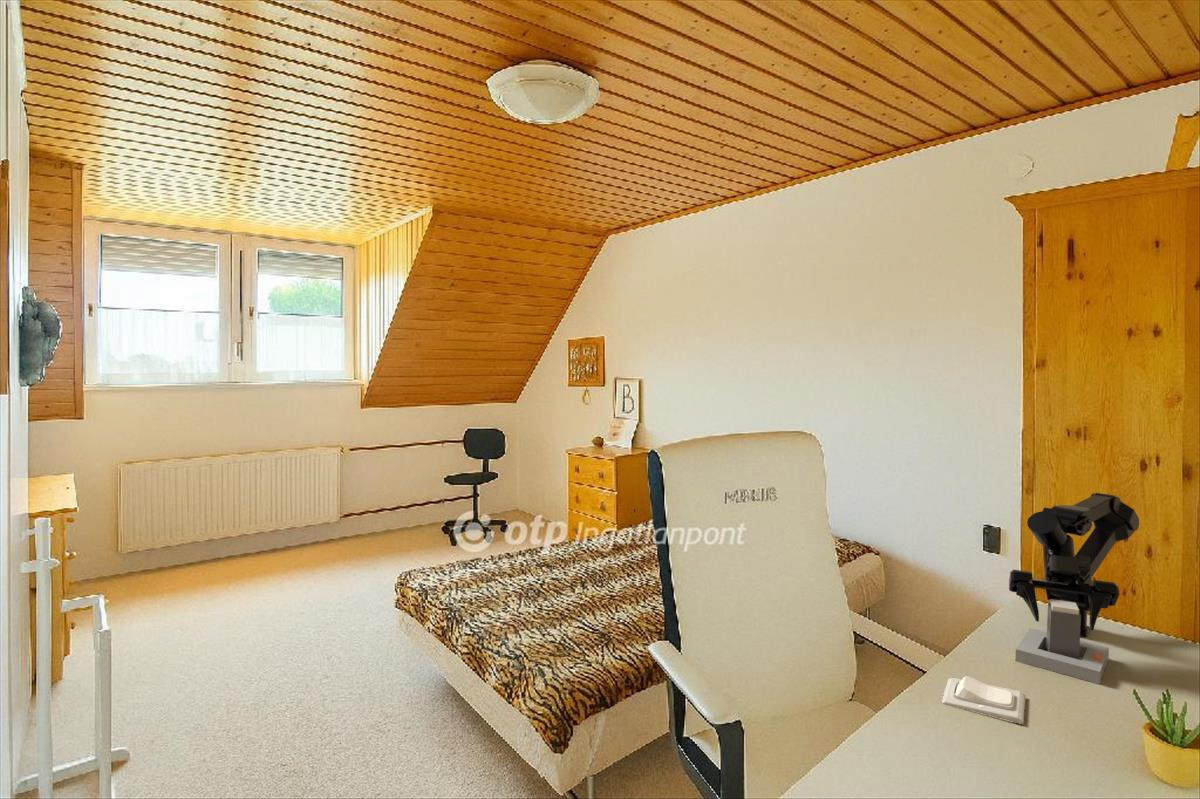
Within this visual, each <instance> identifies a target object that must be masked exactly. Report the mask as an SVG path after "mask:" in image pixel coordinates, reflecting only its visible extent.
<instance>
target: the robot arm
mask: <svg viewBox="0 0 1200 799" xmlns="http://www.w3.org/2000/svg"><path fill="white" fill-rule="evenodd" d="M1026 524H1027V527H1028V529H1029V530H1030V532H1031V533H1032V535H1033V536H1034V538H1035V539H1036V541H1037V542H1038V544H1040V545H1042V555H1043V557H1042V558H1043V569H1044V570H1043V571H1044V572H1043V573H1044V579H1042V578H1034V577H1033V572H1032V571H1028V570H1019V569H1012V570H1011V571H1010V574H1009V578H1008V590H1009V591H1010V592H1012V593H1016V594H1015V595H1016V596H1018V597H1020V598H1022V599H1023V601H1024V602H1025V603H1026V605H1027V607H1028V608H1029V610H1030V612H1031V614H1032V616H1033V617H1034V620H1035V621H1036V622H1040V612H1039V607H1038V603H1037V602H1038V601H1037V596H1036V589H1043V590H1045V593H1046V600H1048V601H1050V599H1054V600H1061V601H1068V602H1075V603H1076V605H1077V607H1078V609H1079V613H1080V615H1081V627H1080V637H1082V638H1083V637H1084V638H1087V637H1088V634H1089V632H1090V631H1094V629H1095V626H1096V622H1097V620H1098V615H1099V613H1100V612H1101V610H1102V609H1108V607H1112V606H1116V604H1117V601H1118V599H1119V597H1120V588H1119V586H1118V585H1117V584H1116V583H1115V582H1113V581H1112V582H1111V581H1106V580H1105V581H1103V580H1098V579H1097V580H1095V579H1094V580H1093V576H1094V574H1096V572H1097V570H1098V569H1099V567H1100V566H1101V565H1102V563H1103V561H1104V560H1105V559H1106V557H1107V555H1108V554H1109V553H1110V551H1111V550H1112V548H1113V547H1114V546H1115V544H1116V543H1117V542H1120V541H1123V540H1124V541H1125V540H1126V539H1127V540H1128V539H1129V538H1131V536H1132V535H1134V533H1135V532H1136V531H1138V529H1139V527H1140V518H1139V516H1138V514H1137V512H1136V511H1135V509H1134V508H1132V507H1131V506H1129V505H1128V504H1126V503H1124V502H1122V500H1121V499H1120V497H1119V496H1116V495H1114V494H1108V493H1102V492H1095V493H1094V492H1093V493H1091V495H1090V496H1089V497H1087V498H1085V499H1083V500H1081V501H1079V502H1076V503H1075V504H1072V505H1063V504H1059V505H1058V504H1057V505H1053V506H1052V507H1051V508H1050V507H1043V509H1042V510H1041V511H1037V512H1035V513H1033V514H1032V515H1030V516H1029V517H1028V518H1027V521H1026ZM1093 527H1094V528H1093ZM1092 528H1093V530H1092ZM1091 530H1092V531H1091ZM1090 531H1091V533H1090V534H1089V536H1087V538H1086V539H1085V541H1084V542H1083V544H1082V545H1081V546H1080V548H1079V550H1078V551H1076V554H1075V546H1074V539H1073V536H1078V537H1084V536H1085V535H1087V533H1089V532H1090ZM1071 535H1073V536H1071ZM1088 612H1089V625H1087V624H1088Z"/></svg>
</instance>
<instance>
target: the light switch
mask: <svg viewBox="0 0 1200 799" xmlns="http://www.w3.org/2000/svg"><path fill="white" fill-rule="evenodd" d="M943 695H944V696H943ZM943 695H942V698H943V699H942V698H941V701H942V703H944V704H943V705H945V704H946V706H949V705H951V706H950V707H953V706H955V707H954V708H956V707H959V708H958V709H960V708H964V709H968V710H972V711H975V712H979V713H983V714H986V715H991V716H994V717H997V718H1002V719H1006V720H1009V721H1013V722H1015V723H1014V724H1016V723H1019V724H1018V725H1021V724H1022V725H1021V726H1023V725H1024V723H1025V711H1024V710H1025V709H1026V708H1025V707H1026V706H1025V705H1026V694H1025V693H1024V692H1023V691H1020V690H1016V689H1011V688H1005V687H1000V686H996V685H990V684H986V683H983V682H981V681H978V680H977V679H975V678H973V677H971V676H968V675H966V676H963V678H962V679H960V678H956V677H955V678H954V677H950V678H948V679H947V683H946V685H945V689H944V692H943ZM942 703H941V704H942ZM964 709H963V710H964ZM975 712H974V713H975ZM986 715H985V716H986ZM997 718H996V719H997Z"/></svg>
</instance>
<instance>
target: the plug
mask: <svg viewBox="0 0 1200 799" xmlns="http://www.w3.org/2000/svg"><path fill="white" fill-rule="evenodd" d="M1046 617H1047V618H1046V619H1047V620H1046V622H1047V623H1046V632H1047V641H1046V648H1045V651H1048V652H1052V653H1056V654H1059V655H1063V656H1067V657H1071V658H1075V659H1078V660H1080V657H1079V650H1080V640H1081V636H1080V627H1081V615H1080V613H1079V609H1078V607H1077V605H1076V603H1075V602H1068V601H1061V600H1054V599H1050V600H1049V602H1047V616H1046Z"/></svg>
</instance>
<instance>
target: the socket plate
mask: <svg viewBox="0 0 1200 799" xmlns="http://www.w3.org/2000/svg"><path fill="white" fill-rule="evenodd" d="M1046 641H1047V631H1044V630H1040V629H1036V628H1032V627H1029V628H1028V630H1027V631H1026V632H1025V635H1024V636H1023V638H1022V639H1021V641H1020V642H1019V643H1018V645H1017V647H1016V648H1015V659H1014V660H1015V662H1019V663H1022V664H1026V665H1030V666H1033V667H1037V668H1040V669H1045V670H1047V671H1050V672H1051V671H1052V672H1053V673H1054V672H1055V673H1057V674H1058V673H1059V674H1062V675H1065V676H1068V677H1072V678H1077V679H1079V680H1084V681H1086V682H1091V683H1095V684H1098V685H1101V681H1102V678H1103V677H1104V676H1103V675H1104V673H1105V670H1106V667H1107V664H1108V661H1109V656H1110V647H1109V646H1106V645H1105V646H1104V645H1101V644H1097V643H1092V642H1088V641H1084V640H1081V639H1080V650H1079V660H1078V659H1075V658H1071V657H1067V656H1063V655H1059V654H1056V653H1052V652H1048V651H1046V650H1044V649H1046ZM1081 659H1082V660H1081Z"/></svg>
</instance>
